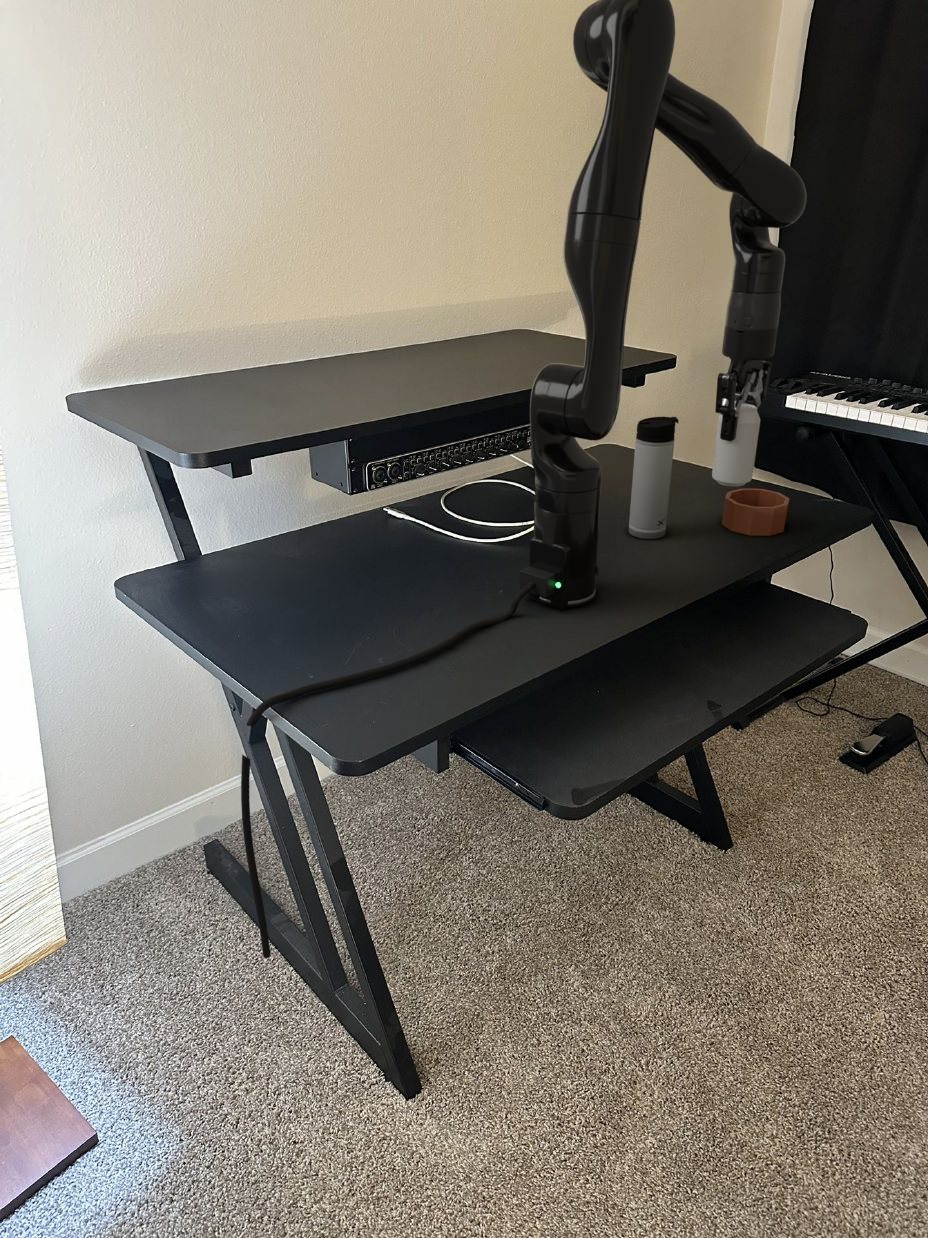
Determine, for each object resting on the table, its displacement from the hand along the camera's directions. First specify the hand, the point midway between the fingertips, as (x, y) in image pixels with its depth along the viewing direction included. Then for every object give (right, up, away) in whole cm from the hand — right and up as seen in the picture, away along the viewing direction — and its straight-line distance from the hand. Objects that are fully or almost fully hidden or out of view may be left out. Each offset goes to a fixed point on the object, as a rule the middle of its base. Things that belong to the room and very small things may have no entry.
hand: (737, 434), depth 139 cm
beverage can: (0, -7, +4) cm, 8 cm away
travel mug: (-11, -14, +16) cm, 24 cm away
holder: (+9, -12, +19) cm, 24 cm away
